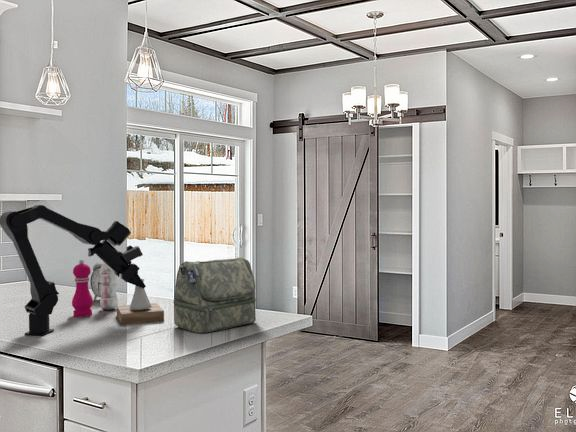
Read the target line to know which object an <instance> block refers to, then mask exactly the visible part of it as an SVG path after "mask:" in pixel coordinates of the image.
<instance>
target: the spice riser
mask: <svg viewBox="0 0 576 432" xmlns="http://www.w3.org/2000/svg"><path fill="white" fill-rule="evenodd" d="M150 304H151V306H152V307H151V308H148V309H142V310H131V309H130V305H131V304H125V305H117V307H116V317H117V319H118V322H119V323H120V324H121V325H132V324H144V323H155V322H156V323H157V321H158V322H165V310H164V309H163V308H162V307H161V306H160V305H159V304H158V303H157V302H155V303H150Z"/></svg>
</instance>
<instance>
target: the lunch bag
mask: <svg viewBox="0 0 576 432" xmlns="http://www.w3.org/2000/svg"><path fill="white" fill-rule="evenodd" d="M175 280H176V281H175V287H174V296H173V297H174V298H173V321H174V322H173V323H174V324H175V326H176V327H178V328H180V329H183V330H186V331H190V332H192V333H197V334H205V333H212V332H217V331H222V330H227V329H231V328H236V327H240V326H244V325H249V324H253V323H255V322H256V321H257V319H256V301H257V300H256V281H255V278H254V273H253V270H252V265H251V263H250V261H249V260H248V259H245V258H243V257H235V258H223V259H211V260H206V261H205V260H204V261H203V260H202V261H199V260H198V261H197V260H196V261H183V262H182V263H181V264H180V265H179V266H178V270H177V273H176V279H175Z"/></svg>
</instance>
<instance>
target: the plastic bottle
mask: <svg viewBox="0 0 576 432" xmlns="http://www.w3.org/2000/svg"><path fill="white" fill-rule="evenodd" d="M102 264H103V265H102V266H101V268H100V278H101V297H100V301H99V305H100V308H101V310H106V311H111V310H116V309H117V306H119V300H118V295H117V277H118V276H117V275H116V274H115V273H114V271H113V270H112V269H111V268H110V267H109V266H108V265H107V264H106V263H105V262H104V261H103V260H102Z"/></svg>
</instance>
